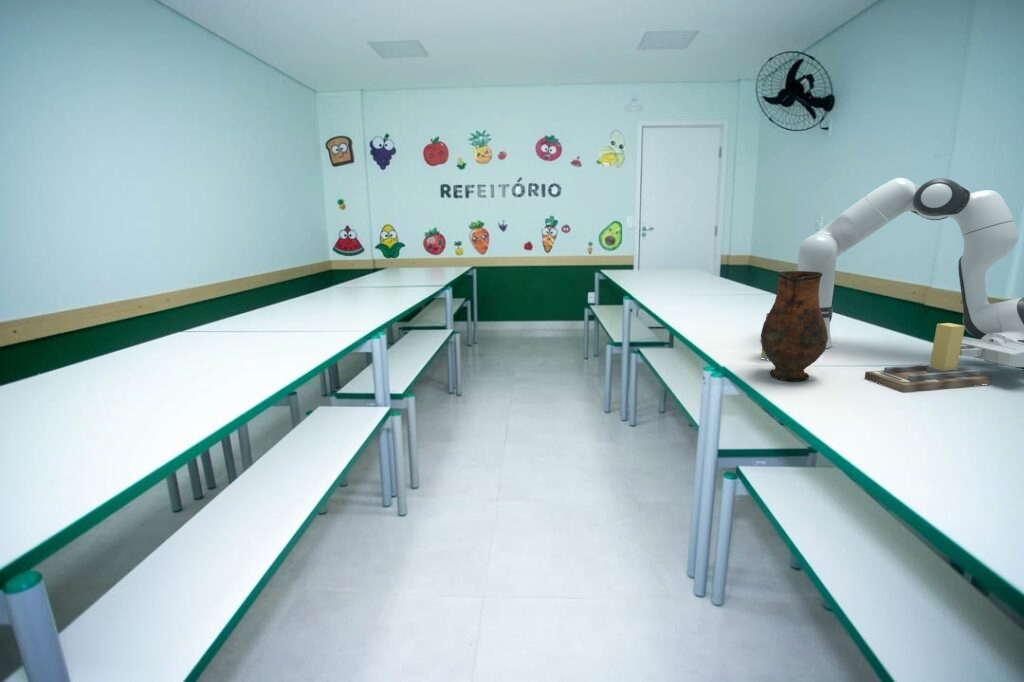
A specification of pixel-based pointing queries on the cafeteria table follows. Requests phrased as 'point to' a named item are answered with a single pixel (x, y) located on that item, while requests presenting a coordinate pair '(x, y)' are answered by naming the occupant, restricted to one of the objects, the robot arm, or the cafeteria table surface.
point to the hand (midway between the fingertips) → (956, 351)
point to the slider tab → (946, 348)
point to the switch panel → (924, 378)
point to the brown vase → (795, 326)
